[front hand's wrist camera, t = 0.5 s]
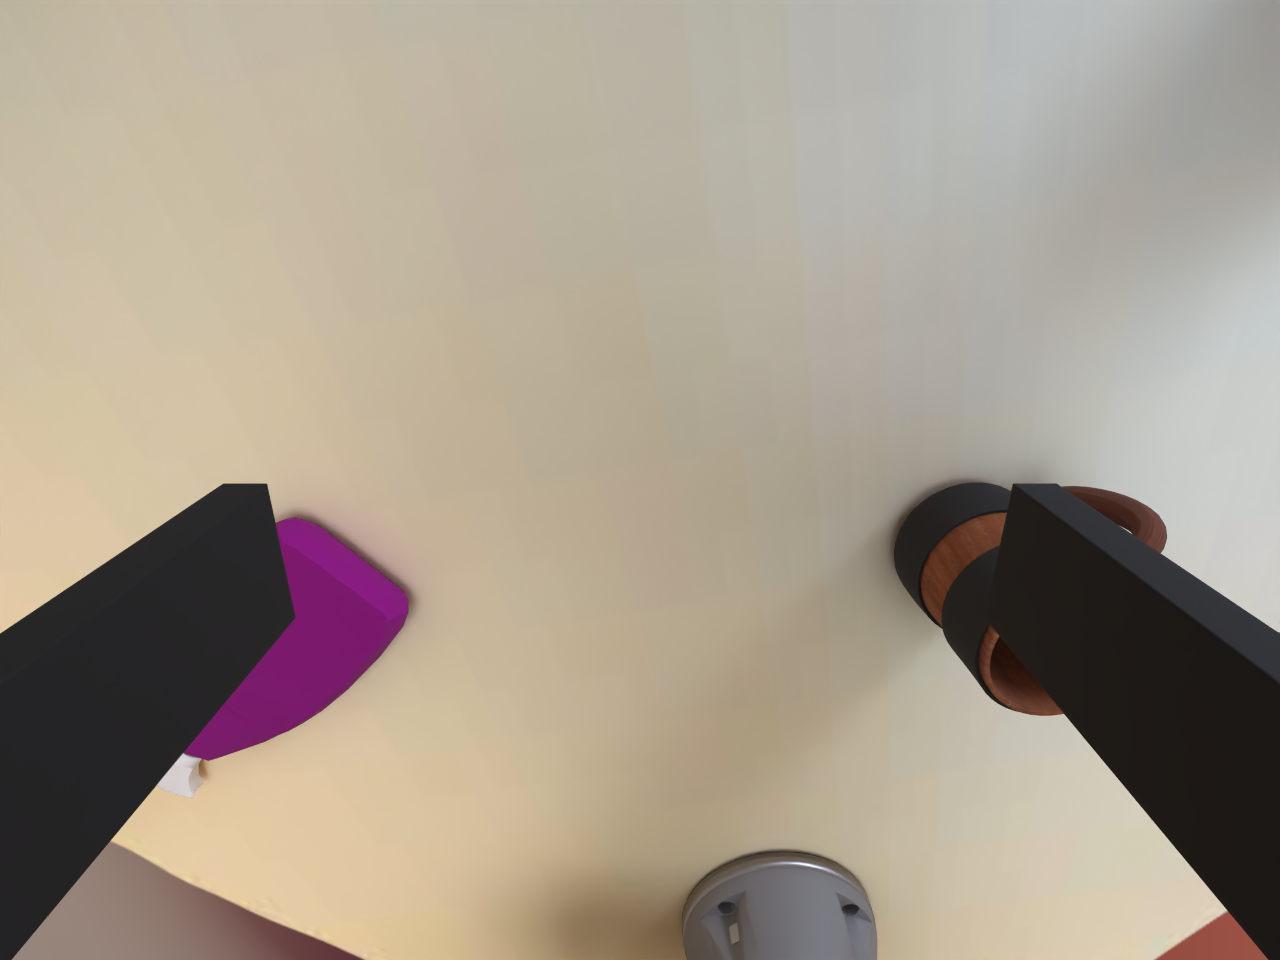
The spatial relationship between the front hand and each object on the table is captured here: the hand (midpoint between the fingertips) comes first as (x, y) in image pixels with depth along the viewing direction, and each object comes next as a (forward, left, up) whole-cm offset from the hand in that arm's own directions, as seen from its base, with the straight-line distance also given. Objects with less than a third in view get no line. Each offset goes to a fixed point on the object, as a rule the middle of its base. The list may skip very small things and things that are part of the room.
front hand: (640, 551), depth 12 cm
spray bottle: (-24, +26, -28) cm, 45 cm away
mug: (-12, -21, -28) cm, 37 cm away
